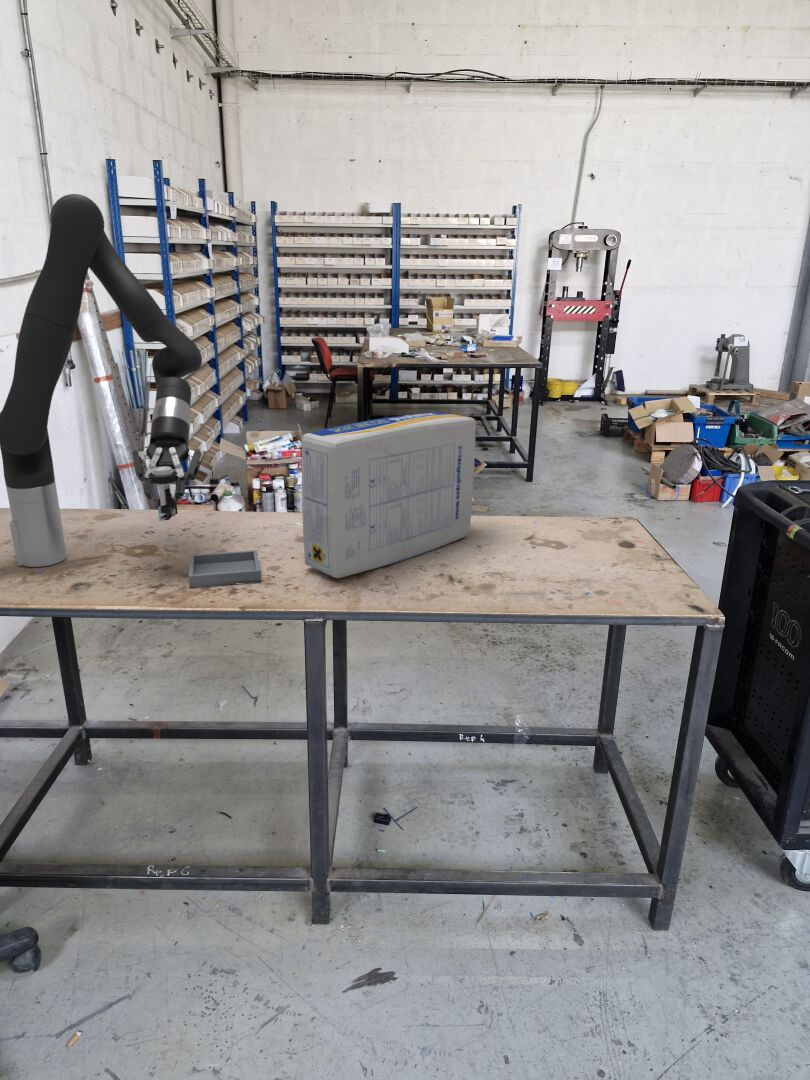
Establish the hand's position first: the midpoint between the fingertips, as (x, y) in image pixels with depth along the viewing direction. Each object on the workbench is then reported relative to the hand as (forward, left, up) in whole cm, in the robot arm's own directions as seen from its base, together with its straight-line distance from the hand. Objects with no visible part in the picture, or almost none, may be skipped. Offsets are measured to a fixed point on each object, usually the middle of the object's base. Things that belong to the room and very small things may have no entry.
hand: (163, 497), depth 140 cm
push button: (0, +1, -5) cm, 5 cm away
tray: (+11, 0, -17) cm, 20 cm away
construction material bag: (+48, +5, -18) cm, 51 cm away
